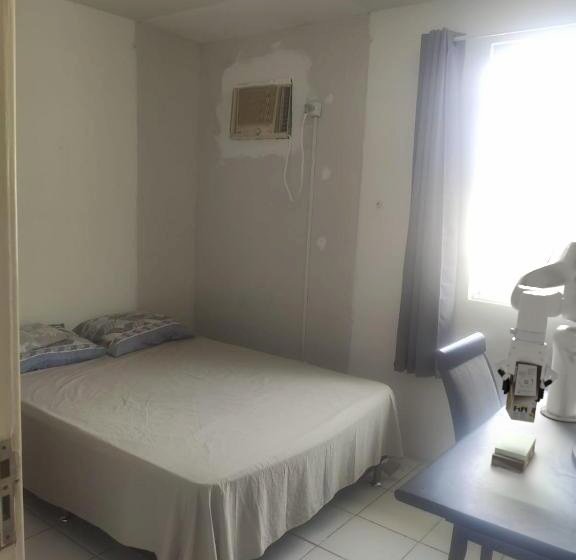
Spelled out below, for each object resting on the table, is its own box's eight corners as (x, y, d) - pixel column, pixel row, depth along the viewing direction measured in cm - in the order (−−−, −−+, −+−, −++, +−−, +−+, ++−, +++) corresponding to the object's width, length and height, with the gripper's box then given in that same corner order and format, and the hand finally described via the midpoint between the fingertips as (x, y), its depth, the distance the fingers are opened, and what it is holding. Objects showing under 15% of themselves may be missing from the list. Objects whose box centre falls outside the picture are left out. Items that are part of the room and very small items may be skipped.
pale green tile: (507, 434, 169) (507, 429, 169) (535, 442, 165) (536, 437, 165) (494, 452, 156) (495, 447, 155) (525, 461, 151) (525, 456, 151)
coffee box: (535, 423, 153) (543, 366, 151) (510, 420, 155) (517, 363, 152) (528, 411, 162) (535, 357, 160) (504, 408, 163) (511, 354, 161)
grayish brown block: (505, 443, 169) (506, 433, 169) (534, 451, 165) (535, 441, 164) (490, 465, 154) (492, 454, 153) (521, 474, 150) (523, 463, 149)
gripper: (494, 332, 157) (486, 392, 159) (562, 344, 147) (553, 408, 150) (500, 328, 163) (493, 386, 165) (566, 339, 154) (557, 401, 156)
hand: (521, 396), depth 158 cm, fingers closed on coffee box, 8 cm apart
